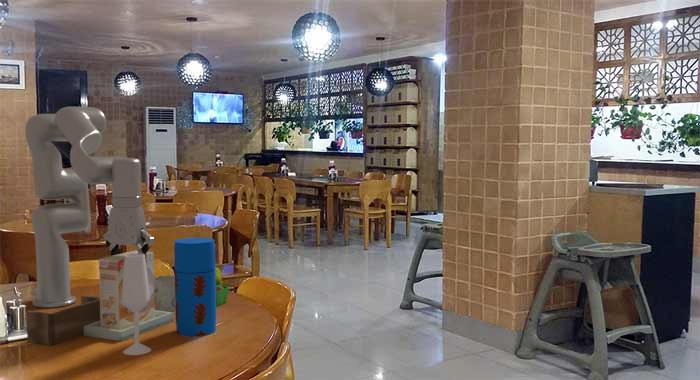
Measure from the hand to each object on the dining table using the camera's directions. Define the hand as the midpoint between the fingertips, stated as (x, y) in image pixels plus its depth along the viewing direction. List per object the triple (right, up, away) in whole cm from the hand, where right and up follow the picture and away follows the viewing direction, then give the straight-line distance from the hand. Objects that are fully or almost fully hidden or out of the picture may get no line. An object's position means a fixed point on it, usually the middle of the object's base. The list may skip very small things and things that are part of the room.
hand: (128, 265), depth 185 cm
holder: (-15, -18, -4) cm, 24 cm away
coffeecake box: (0, -17, +2) cm, 17 cm away
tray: (0, -17, +1) cm, 17 cm away
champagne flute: (+8, -19, -19) cm, 28 cm away
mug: (+3, -16, +21) cm, 27 cm away
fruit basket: (+16, -15, +30) cm, 38 cm away
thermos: (+19, -18, -1) cm, 26 cm away
